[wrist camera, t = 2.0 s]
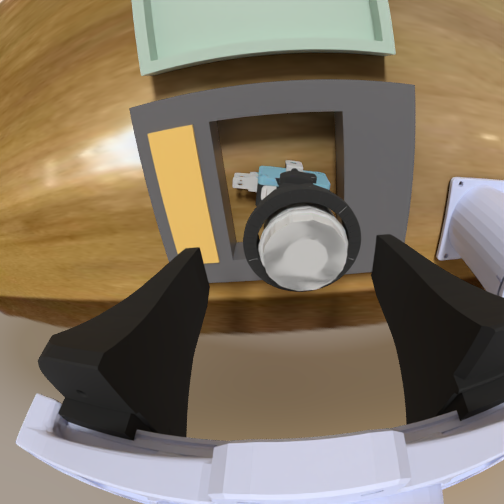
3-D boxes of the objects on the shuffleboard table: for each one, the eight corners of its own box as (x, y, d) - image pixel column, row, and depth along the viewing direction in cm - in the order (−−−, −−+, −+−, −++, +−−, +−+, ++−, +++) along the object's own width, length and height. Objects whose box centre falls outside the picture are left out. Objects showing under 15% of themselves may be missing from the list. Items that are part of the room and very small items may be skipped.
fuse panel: (398, 83, 15) (416, 85, 13) (389, 252, 23) (400, 270, 21) (144, 104, 18) (128, 108, 15) (183, 266, 25) (175, 285, 23)
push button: (233, 207, 22) (209, 297, 13) (237, 138, 19) (209, 188, 10) (320, 216, 22) (347, 308, 13) (332, 149, 19) (381, 208, 10)
